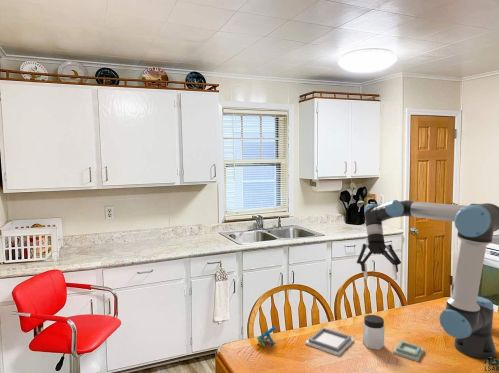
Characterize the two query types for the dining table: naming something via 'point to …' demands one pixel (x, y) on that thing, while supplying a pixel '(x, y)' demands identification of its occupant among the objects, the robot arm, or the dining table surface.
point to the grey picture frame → (330, 341)
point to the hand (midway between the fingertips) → (380, 279)
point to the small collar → (408, 350)
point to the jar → (373, 332)
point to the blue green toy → (267, 333)
